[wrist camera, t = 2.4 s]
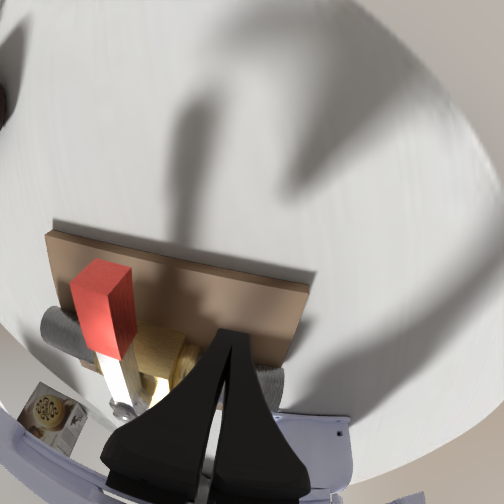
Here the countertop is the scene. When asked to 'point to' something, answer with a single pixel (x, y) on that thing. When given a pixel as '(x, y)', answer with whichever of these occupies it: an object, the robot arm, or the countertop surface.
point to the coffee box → (53, 418)
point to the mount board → (190, 296)
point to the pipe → (2, 105)
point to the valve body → (151, 355)
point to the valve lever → (112, 332)
